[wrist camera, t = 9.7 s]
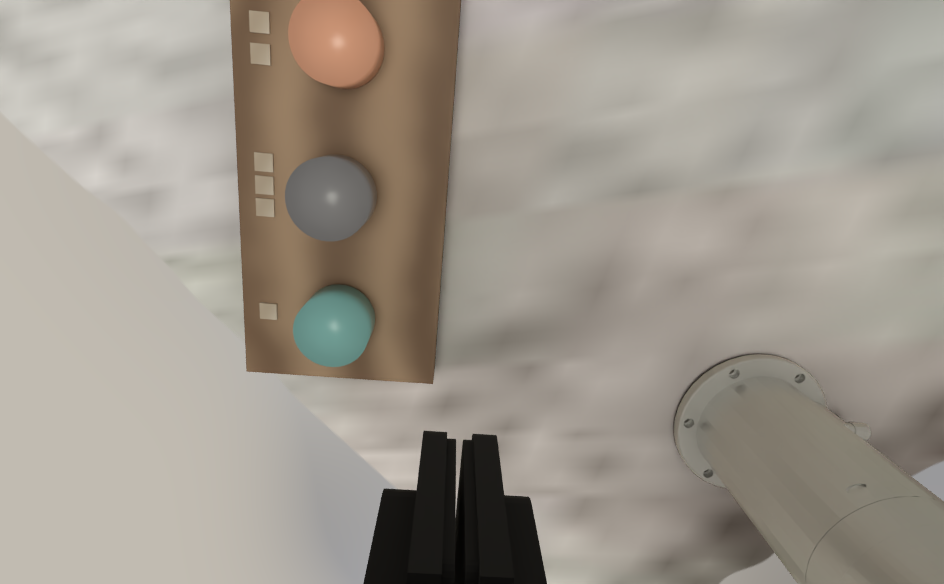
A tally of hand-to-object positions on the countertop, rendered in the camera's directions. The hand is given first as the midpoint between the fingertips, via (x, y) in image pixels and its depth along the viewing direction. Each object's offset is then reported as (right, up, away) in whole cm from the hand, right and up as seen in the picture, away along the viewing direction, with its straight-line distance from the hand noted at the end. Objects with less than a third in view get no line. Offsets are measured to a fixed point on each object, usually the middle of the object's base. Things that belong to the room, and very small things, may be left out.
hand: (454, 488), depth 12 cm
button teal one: (-9, +3, +26) cm, 28 cm away
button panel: (-8, +12, +26) cm, 30 cm away
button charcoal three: (-8, +11, +22) cm, 26 cm away
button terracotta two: (-8, +20, +21) cm, 29 cm away
